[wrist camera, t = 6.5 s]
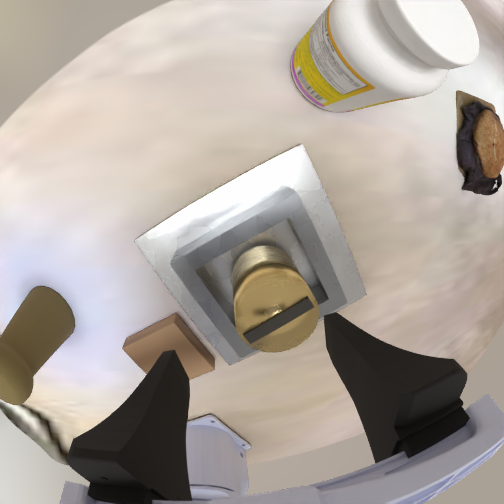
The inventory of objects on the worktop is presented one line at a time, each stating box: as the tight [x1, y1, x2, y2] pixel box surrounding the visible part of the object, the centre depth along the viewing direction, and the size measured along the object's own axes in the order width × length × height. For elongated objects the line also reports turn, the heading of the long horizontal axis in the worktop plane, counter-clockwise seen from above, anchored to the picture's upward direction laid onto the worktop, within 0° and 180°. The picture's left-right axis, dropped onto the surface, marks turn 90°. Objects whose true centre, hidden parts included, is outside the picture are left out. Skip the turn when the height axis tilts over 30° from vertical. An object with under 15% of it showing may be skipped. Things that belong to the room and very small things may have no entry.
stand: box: [122, 313, 215, 380], centre depth 23 cm, size 6×6×2 cm
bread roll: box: [456, 91, 504, 195], centre depth 19 cm, size 11×8×4 cm
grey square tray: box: [135, 144, 367, 365], centre depth 21 cm, size 14×14×3 cm
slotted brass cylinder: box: [232, 246, 319, 352], centre depth 19 cm, size 5×5×6 cm
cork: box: [0, 286, 75, 405], centre depth 17 cm, size 6×6×11 cm
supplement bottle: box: [291, 0, 479, 112], centre depth 11 cm, size 7×7×13 cm
